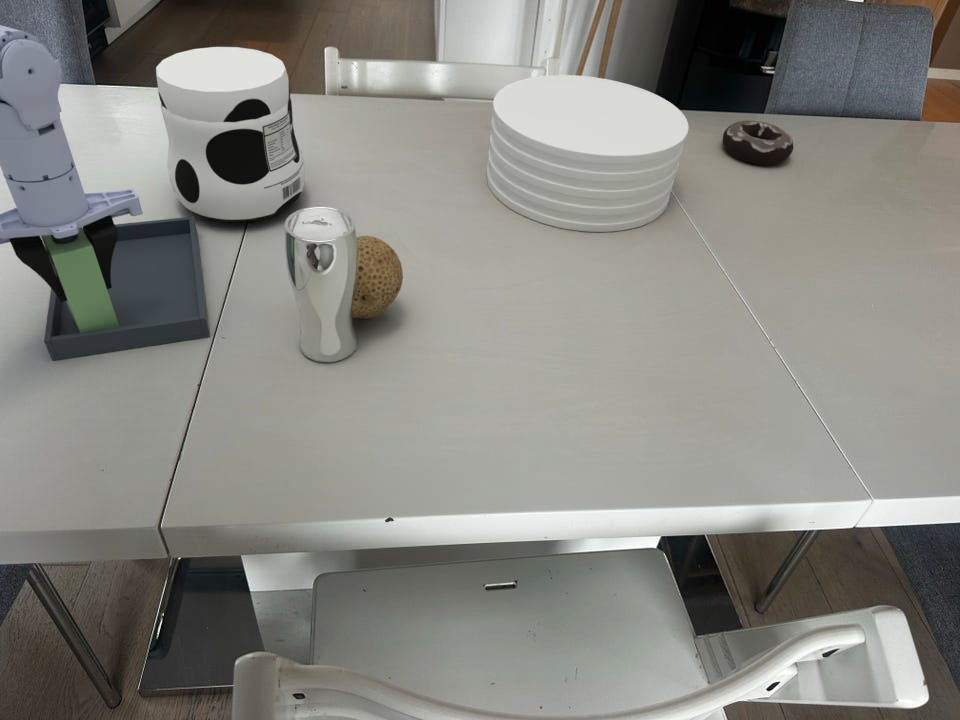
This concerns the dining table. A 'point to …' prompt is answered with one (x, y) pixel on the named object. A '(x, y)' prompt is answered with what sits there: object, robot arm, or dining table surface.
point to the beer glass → (323, 279)
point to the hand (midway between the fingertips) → (83, 290)
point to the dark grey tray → (142, 293)
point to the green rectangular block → (81, 281)
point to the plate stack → (584, 152)
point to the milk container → (230, 133)
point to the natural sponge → (376, 277)
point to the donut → (757, 142)
